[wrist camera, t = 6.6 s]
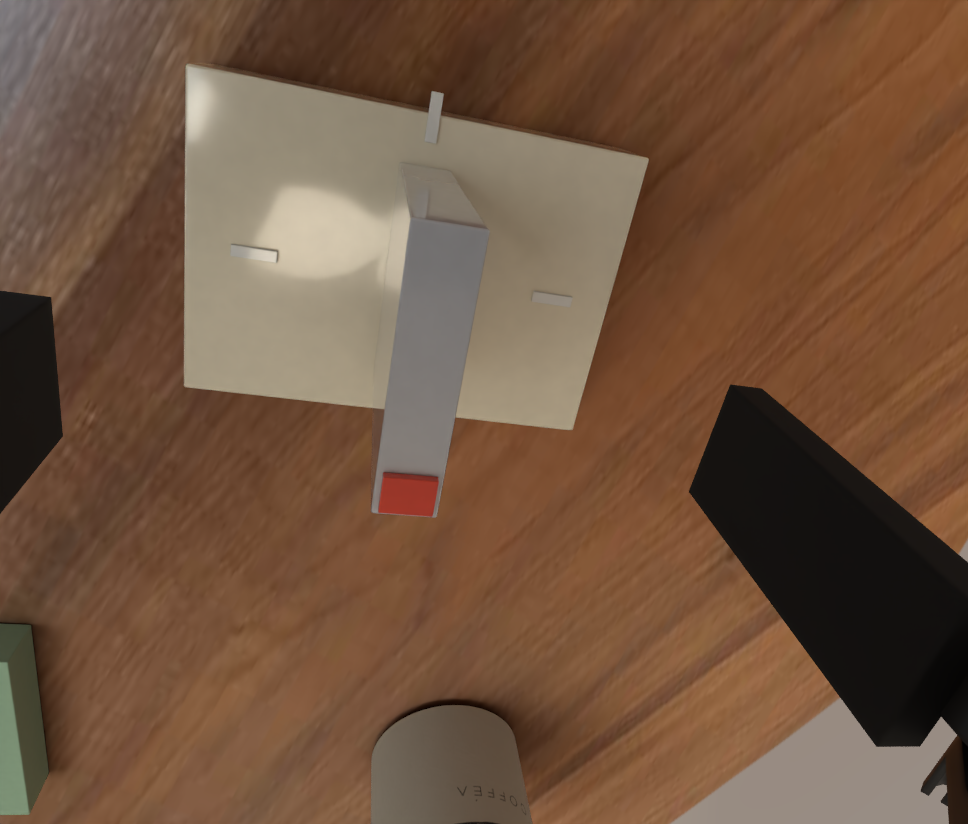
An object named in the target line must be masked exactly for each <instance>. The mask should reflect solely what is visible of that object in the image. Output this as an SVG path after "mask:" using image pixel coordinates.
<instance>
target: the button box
mask: <svg viewBox="0 0 968 824" xmlns="http://www.w3.org/2000/svg"><path fill="white" fill-rule="evenodd" d="M48 774H49V770H48V762H47V753H46V745H45V737H44V729H43V720H42V712H41V704H40V696H39V687H38V679H37V671H36V663H35V654H34V646H33V638H32V630H31V625H22V624H0V815H29V814H30V812H31V810H32V808H33V806H34V804H35V802H36V799H37V797H38V795H39V793H40V791H41V789H42V787H43V784H44V782H45V780H46V778H47V776H48Z"/></svg>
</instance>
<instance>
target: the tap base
mask: <svg viewBox="0 0 968 824" xmlns="http://www.w3.org/2000/svg"><path fill="white" fill-rule="evenodd" d="M443 96H444V94H443V93H439V92H434V91H431V98H430V104H429V108H424V107H419V106H414V105H409V104H404V103H400V102H395V101H390V100H385V99H380V98H375V97H370V96H366V95H361V94H356V93H351V92H346V91H341V90H337V89H332V88H327V87H322V86H317V85H312V84H308V83H303V82H298V81H293V80H288V79H283V78H279V77H274V76H269V75H264V74H259V73H254V72H250V71H245V70H240V69H235V68H230V67H225V66H221V65H216V64H209V63H188V64H186V66H185V232H184V386H185V387H188V388H197V389H206V390H215V391H224V392H233V393H242V394H251V395H260V396H269V397H278V398H287V399H296V400H304V401H313V402H322V403H331V404H340V405H349V406H358V407H367V408H373V370H374V362H375V354H376V346H377V338H378V330H379V322H380V314H381V306H382V298H383V290H384V281H385V273H386V265H387V257H388V249H389V241H390V233H391V225H392V217H393V209H394V201H395V193H396V185H397V177H398V168H399V163H400V162H403V163H408V164H414V165H420V166H425V167H431V168H437V169H442V170H448V171H450V172H451V173H452V175H453V176H454V178H455V179H456V181H457V182H458V184H459V185H460V187H461V188H462V190H463V191H464V193H465V194H466V196H467V197H468V199H469V200H470V202H471V203H472V205H473V206H474V208H475V209H476V211H477V212H478V214H479V215H480V217H481V218H482V220H483V221H484V223H485V224H486V226H487V227H488V229H489V230H490V235H489V240H488V245H487V251H486V256H485V262H484V267H483V272H482V278H481V283H480V288H479V294H478V299H477V304H476V310H475V315H474V321H473V326H472V331H471V337H470V342H469V347H468V353H467V358H466V363H465V369H464V374H463V380H462V385H461V390H460V396H459V401H458V406H457V412H456V418H465V419H474V420H483V421H492V422H501V423H510V424H519V425H527V426H536V427H545V428H554V429H563V430H572V429H573V426H574V423H575V419H576V416H577V412H578V409H579V405H580V401H581V398H582V394H583V391H584V387H585V384H586V380H587V377H588V373H589V370H590V366H591V363H592V359H593V356H594V352H595V348H596V345H597V341H598V338H599V334H600V331H601V327H602V324H603V320H604V317H605V313H606V310H607V306H608V303H609V299H610V296H611V292H612V288H613V285H614V281H615V278H616V274H617V271H618V267H619V264H620V260H621V257H622V253H623V250H624V246H625V243H626V239H627V236H628V232H629V228H630V225H631V221H632V218H633V214H634V211H635V207H636V204H637V200H638V197H639V193H640V190H641V186H642V183H643V179H644V175H645V172H646V168H647V165H648V161H649V159H648V158H647V157H644V156H641V155H638V154H635V153H632V152H630V151H627V150H624V149H621V148H617V147H612V146H607V145H603V144H598V143H593V142H588V141H583V140H578V139H574V138H569V137H564V136H559V135H554V134H549V133H545V132H540V131H535V130H530V129H525V128H520V127H516V126H511V125H506V124H501V123H496V122H491V121H487V120H482V119H477V118H472V117H467V116H462V115H458V114H453V113H448V112H443V111H441V109H442V103H443Z"/></svg>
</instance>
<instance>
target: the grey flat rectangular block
mask: <svg viewBox="0 0 968 824" xmlns="http://www.w3.org/2000/svg"><path fill="white" fill-rule="evenodd" d="M489 235H490V230H489V229H488V227H487V226H486V224H485V223H484V221H483V220H482V218H481V217H480V215H479V214H478V212H477V211H476V209H475V208H474V206H473V205H472V203H471V202H470V200H469V199H468V197H467V196H466V194H465V193H464V191H463V190H462V188H461V187H460V185H459V184H458V182H457V181H456V179H455V178H454V176H453V175H452V173H451V172H450V171H448V170H442V169H437V168H431V167H425V166H420V165H414V164H408V163H403V162H400V163H399V168H398V177H397V185H396V193H395V201H394V209H393V217H392V225H391V233H390V241H389V249H388V257H387V265H386V273H385V281H384V290H383V298H382V306H381V314H380V322H379V330H378V338H377V346H376V354H375V362H374V370H373V424H372V478H371V512H372V513H379V514H393V515H407V516H421V517H436V516H437V514H438V508H439V503H440V498H441V492H442V487H443V482H444V476H445V471H446V465H447V460H448V455H449V449H450V444H451V439H452V433H453V428H454V423H455V417H456V412H457V406H458V401H459V396H460V390H461V385H462V380H463V374H464V369H465V363H466V358H467V353H468V347H469V342H470V337H471V331H472V326H473V321H474V315H475V310H476V304H477V299H478V294H479V288H480V283H481V278H482V272H483V267H484V262H485V256H486V251H487V245H488V240H489Z"/></svg>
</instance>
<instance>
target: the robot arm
mask: <svg viewBox="0 0 968 824" xmlns="http://www.w3.org/2000/svg"><path fill="white" fill-rule="evenodd" d="M62 437H63V433H62V421H61V409H60V398H59V386H58V374H57V362H56V350H55V339H54V327H53V315H52V303H51V297H45V296H37V295H29V294H21V293H14V292H6V291H0V513H1V512H2V511H3V509H4V508H5V507H6V506H7V505H8V503H9V502H10V501H11V500H12V498H13V497H14V496H15V495H16V493H17V492H18V491H19V490H20V488H21V487H22V486H23V485H24V484H25V482H26V481H27V480H28V479H29V477H30V476H31V475H32V474H33V472H34V471H35V470H36V469H37V467H38V466H39V465H40V464H41V463H42V461H43V460H44V459H45V458H46V456H47V455H48V454H49V453H50V451H51V450H52V449H53V448H54V446H55V445H56V444H57V443H58V442H59V440H60V439H61V438H62ZM689 492H690V494H691V495H692V497H693V498H694V499H695V501H696V502H697V503H698V505H699V506H700V507H701V509H702V510H703V511H704V513H705V514H706V516H707V517H708V518H709V520H710V521H711V522H712V524H713V525H714V526H715V528H716V529H717V530H718V532H719V533H720V535H721V536H722V537H723V539H724V540H725V541H726V543H727V544H728V545H729V547H730V548H731V550H732V551H733V552H734V554H735V555H736V556H737V558H738V559H739V560H740V562H741V563H742V564H743V566H744V567H745V569H746V570H747V571H748V573H749V574H750V575H751V577H752V578H753V579H754V581H755V582H756V583H757V585H758V586H759V588H760V589H761V590H762V592H763V593H764V594H765V596H766V597H767V598H768V600H769V601H770V602H771V604H772V605H773V607H774V608H775V609H776V611H777V612H778V613H779V615H780V616H781V617H782V619H783V620H784V622H785V623H786V624H787V626H788V627H789V628H790V630H791V631H792V632H793V634H794V635H795V636H796V638H797V639H798V641H799V642H800V643H801V645H802V646H803V647H804V649H805V650H806V651H807V653H808V654H809V655H810V657H811V658H812V660H813V661H814V662H815V664H816V665H817V666H818V668H819V669H820V670H821V672H822V673H823V675H824V676H825V677H826V679H827V680H828V681H829V683H830V684H831V685H832V687H833V688H834V689H835V691H836V692H837V694H838V695H839V696H840V698H841V699H842V700H843V701H844V703H845V704H846V706H847V707H848V708H849V710H850V711H851V712H852V714H853V715H854V717H855V718H856V719H857V721H858V722H859V723H860V725H861V726H862V728H863V729H864V730H865V732H866V733H867V734H868V736H869V737H870V738H871V740H872V741H873V742H874V744H875V745H876V746H877V747H884V746H885V747H887V746H889V747H891V746H921V744H922V743H923V741H924V740H925V738H926V737H927V736H928V734H929V733H930V731H931V730H932V728H933V727H934V726H935V724H936V723H937V721H938V720H939V718H940V717H942V718H943V719H944V720H945V721H946V722H947V724H949V726H950V727H951V728H952V729H953V730H954V731H955V733H956V734H957V737H956V738H955V739H954V741H953V742H952V743H951V745H950V746H949V748H948V749H947V750H946V752H945V753H944V754H943V756H942V757H941V759H940V760H939V761H938V763H937V764H936V765H935V767H934V768H933V770H932V771H931V773H930V774H929V775H928V776H927V778H926V779H925V781H924V782H923V786H922V788H921V792H923V793H925V794H926V795H928V796H929V795H930V793H931V792H932V791H933V789H934V788H935V787H936V786H938V785H942V784H944V785H947V793H946V795H945V796H944V797H943V799H942V800H941V803H943V804H945V805H946V806H948V815H949V824H968V562H967V561H965V560H964V559H963V558H962V557H961V556H960V555H958V554H957V553H956V552H955V551H954V550H952V549H951V548H950V547H949V546H948V545H946V544H945V543H944V542H943V541H942V540H941V539H939V538H938V537H937V536H936V535H935V534H933V533H932V532H931V531H930V530H929V529H928V528H926V527H925V526H924V525H923V524H922V523H920V522H919V521H918V520H917V519H916V518H914V517H913V516H912V515H911V514H910V513H909V512H907V511H906V510H905V509H904V508H903V507H901V506H900V505H899V504H898V503H897V502H896V501H894V500H893V499H892V498H891V497H890V496H888V495H887V494H886V493H885V492H884V491H882V490H881V489H880V488H879V487H878V486H877V485H875V484H874V483H873V482H872V481H871V480H869V479H868V478H867V477H866V476H865V475H864V474H862V473H861V472H860V471H859V470H858V469H856V468H855V467H854V466H853V465H852V464H850V463H849V462H848V461H847V460H846V459H845V458H843V457H842V456H841V455H840V454H839V453H837V452H836V451H835V450H834V449H833V448H832V447H830V446H829V445H828V444H827V443H826V442H824V441H823V440H822V439H821V438H820V437H819V436H817V435H816V434H815V433H814V432H813V431H811V430H810V429H809V428H808V427H807V426H805V425H804V424H803V423H802V422H801V421H800V420H798V419H797V418H796V417H795V416H794V415H792V414H791V413H790V412H789V411H788V410H787V409H785V408H784V407H783V406H782V405H781V404H779V403H778V402H777V401H776V400H775V399H773V398H772V397H771V396H770V395H769V394H768V393H766V392H765V391H764V390H763V389H761V388H753V387H745V386H737V385H730V387H729V389H728V392H727V395H726V397H725V400H724V402H723V405H722V407H721V410H720V413H719V415H718V418H717V420H716V423H715V425H714V428H713V431H712V433H711V436H710V438H709V441H708V444H707V446H706V449H705V451H704V454H703V456H702V459H701V462H700V464H699V467H698V469H697V472H696V475H695V477H694V480H693V482H692V485H691V487H690V490H689Z"/></svg>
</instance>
